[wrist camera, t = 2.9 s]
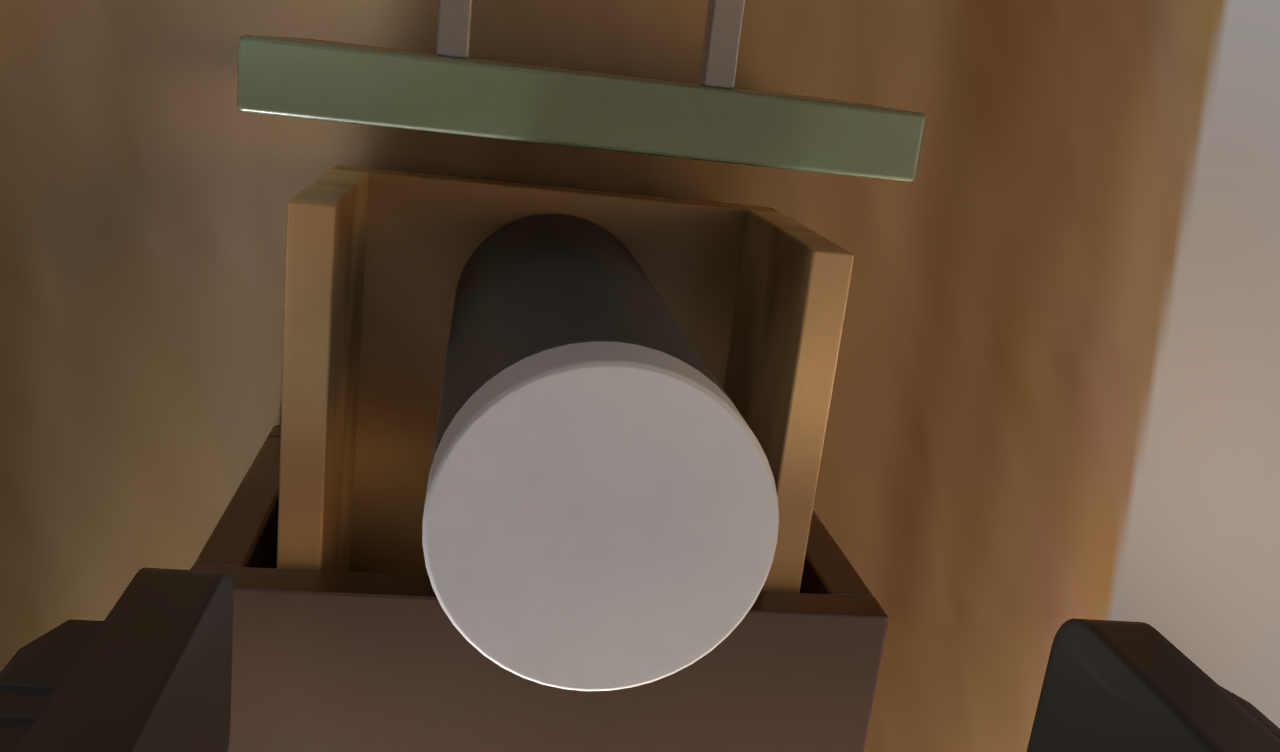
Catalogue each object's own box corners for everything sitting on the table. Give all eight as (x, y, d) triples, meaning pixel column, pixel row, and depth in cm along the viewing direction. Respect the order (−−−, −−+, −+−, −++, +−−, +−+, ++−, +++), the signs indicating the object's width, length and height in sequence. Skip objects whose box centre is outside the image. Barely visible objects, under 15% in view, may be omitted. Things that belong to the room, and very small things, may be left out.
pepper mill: (447, 395, 26) (410, 687, 14) (461, 203, 25) (433, 347, 13) (637, 408, 27) (754, 699, 15) (658, 222, 25) (804, 375, 14)
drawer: (313, -198, 23) (243, -295, 17) (851, -120, 25) (979, -179, 19) (286, 605, 28) (224, 774, 22) (740, 624, 30) (810, 786, 23)
